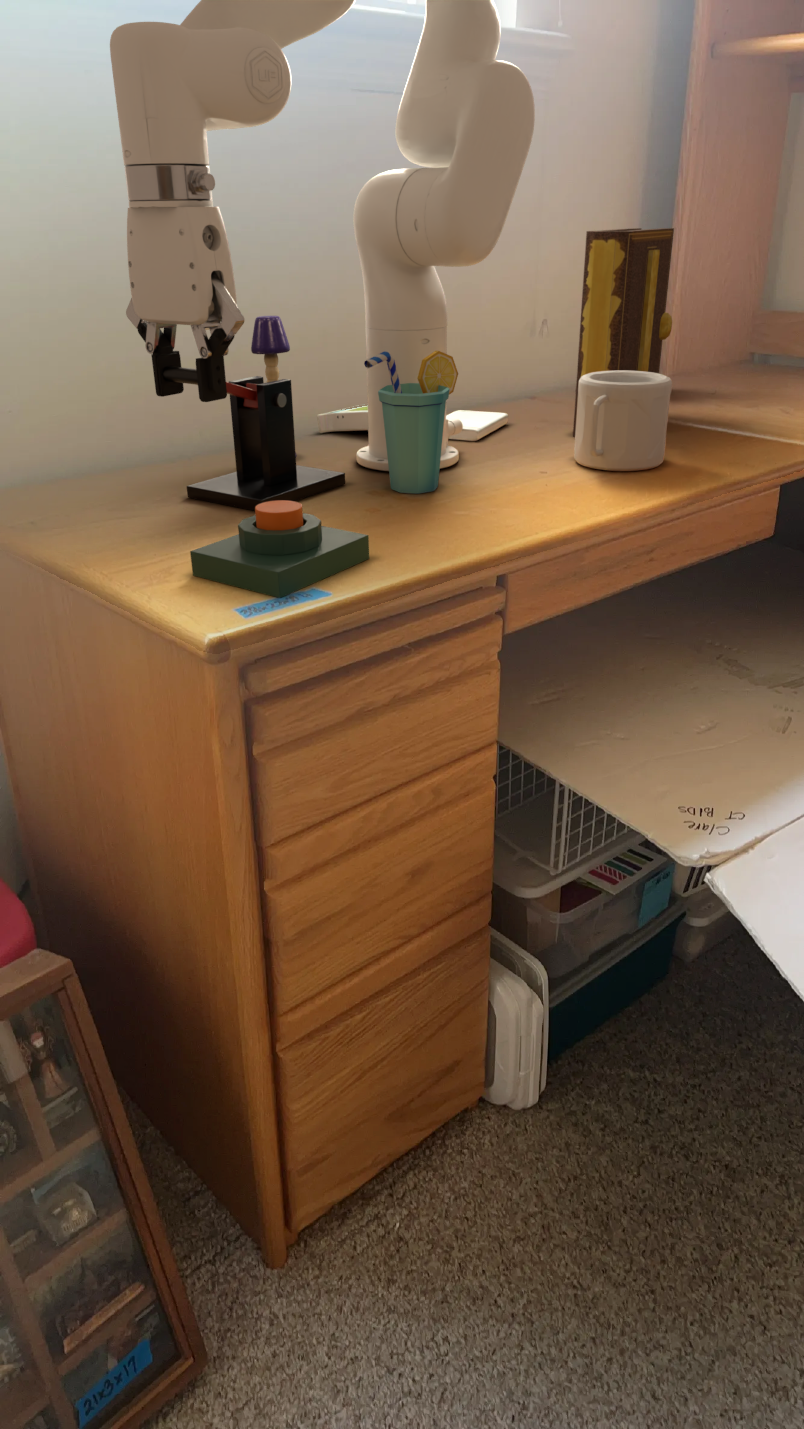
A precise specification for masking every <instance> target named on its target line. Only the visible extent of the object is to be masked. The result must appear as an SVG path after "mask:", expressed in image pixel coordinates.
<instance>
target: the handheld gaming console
mask: <svg viewBox="0 0 804 1429" xmlns="http://www.w3.org/2000/svg"><path fill="white" fill-rule="evenodd" d="M345 409H346V408H342V410H341V409H336V410H333V411H329V412H324V413H320V414H317V415H316V419H317V420H316V421H317V427H318V428H317V429H318V432H319V434H325V433H330V432H331V433H332V432H353V431H355V432H357V431H368V405H367V406H362V407H357V408H352V409H346V410H345Z"/></svg>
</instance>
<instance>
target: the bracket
mask: <svg viewBox="0 0 804 1429" xmlns="http://www.w3.org/2000/svg"><path fill="white" fill-rule="evenodd" d="M228 382H229V383H232V384H235V385H238V386H242V387H245V388H246V384H247V383H251V384H257V385H256V386H257V399H258V410H256V409H252V408H248V407H245V406H243V405H244V398H240V397H237V396H233V395H230V394H229V404H230V415H231V425H232V426H231V427H232V434H233V435H232V436H233V449H234V457H235V458H234V460H235V469H236V470H235V471H233V472H230V473H226V474H223V475H220V476H216V477H213V478H209V479H206V480H203V481H199V482H196V483H192V484H189V485H186V496H187V498H188V499H193V500H194V499H195V500H197V501H198V500H199V501H202V502H203V501H204V502H208V503H213V504H217V505H218V504H219V505H223V506H227V507H228V506H229V507H233V508H238V509H243V510H249V511H254V512H255V507H256V506H257V505H258V504H261V503H264V502H268V501H277V500H287V501H295V502H298V501H300V500H303V499H306V498H308V497H312V496H314V495H318V494H320V493H323V492H326V491H329V490H333V489H335V488H338V487H341V486H344V485H346V473H345V472H342V471H336V470H329V469H323V468H316V467H311V466H304V465H298V464H297V457H296V455H297V452H296V438H295V437H296V436H295V423H294V421H295V420H294V407H293V406H294V405H293V391H292V390H293V389H292V380H291V379H288V378H282V379H278V380H277V381H272V382H267V381H266V382H264V376H260V375H256V376H249V377H243V378H240V379H233V380H229V381H228ZM295 452H296V453H295Z"/></svg>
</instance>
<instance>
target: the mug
mask: <svg viewBox="0 0 804 1429" xmlns="http://www.w3.org/2000/svg"><path fill="white" fill-rule="evenodd" d="M672 387H673V381H672V379H671V377H670V376H668V375H666V374H662V373H660V372H659V373H654V372H646V371H629V370H614V371H599V372H592V373H588V374H586V375H583V376H582V377H581V378H580V379H579V385H578V401H577V417H576V432H575V436H574V449H573V459H574V460H575V462H577V464H579V465H581V466H583V467H586V468H590V469H594V470H595V469H596V470H603V471H613V472H634V471H645V470H650V469H654V468H656V467H659V466H660V465H661V464H662V463H663V462H664V459H665V452H666V442H667V428H668V420H669V409H670V402H671V401H670V399H671V394H672Z"/></svg>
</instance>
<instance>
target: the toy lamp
mask: <svg viewBox="0 0 804 1429" xmlns="http://www.w3.org/2000/svg"><path fill="white" fill-rule="evenodd" d="M290 350H291V346H290V342H289V340H288V336H287V333H286V329H285V327H284V324H283V321H282V319H281V317H280V316H279V315H260V316H256V317H255V319H254V325H253V332H252V338H251V347H250V351H251V353H252V354H253V355H263V362H264V365H265V370H264V374H265V377H266V379H267V380H266V383H267V382H272V381H277V380H279V378H280V369H279V366H278V364H279V355H278V354H285V353H289V352H290ZM295 453H296V458H297V452H296V451H295Z"/></svg>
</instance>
